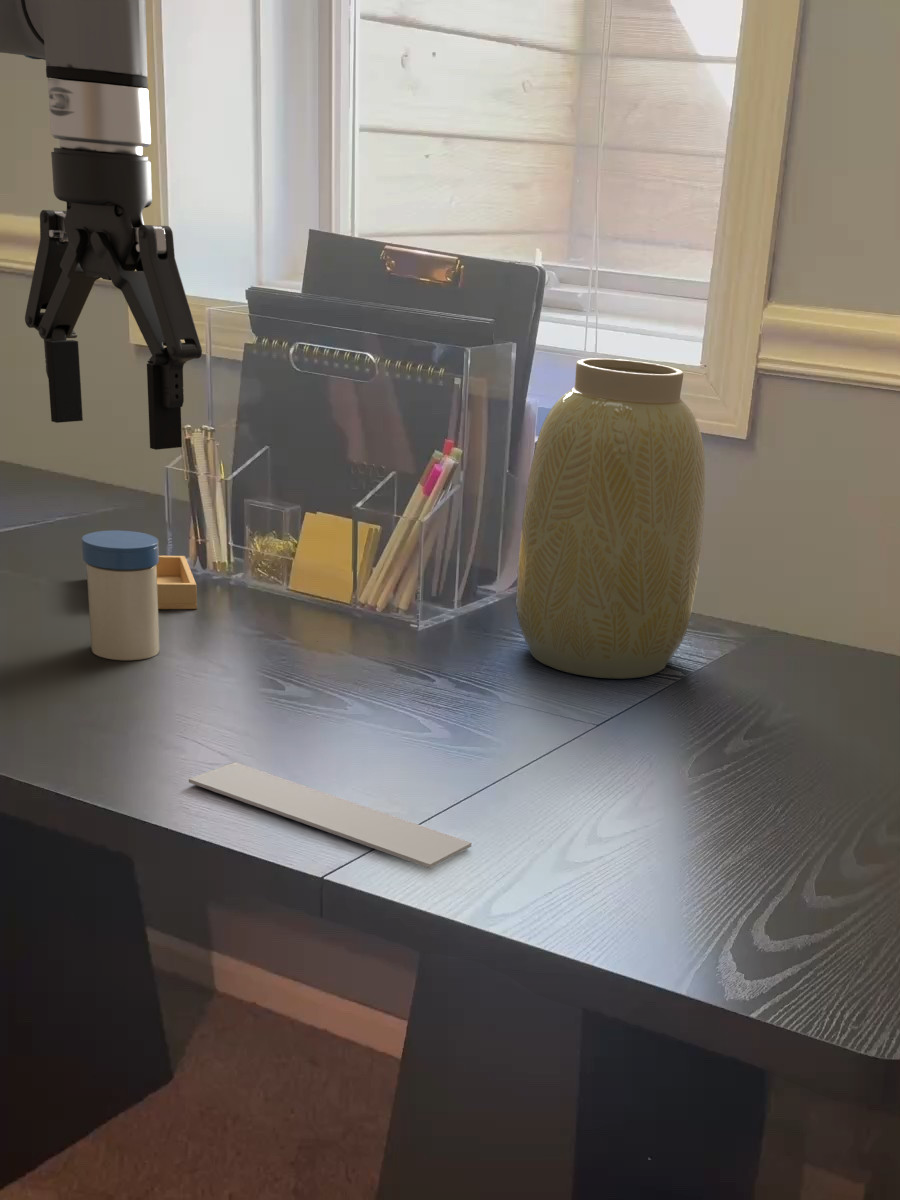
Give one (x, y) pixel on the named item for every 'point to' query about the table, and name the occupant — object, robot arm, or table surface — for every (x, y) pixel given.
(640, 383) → the vase
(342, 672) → the table surface
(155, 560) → the lid
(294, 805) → the nameplate
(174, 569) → the tray
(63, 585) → the table surface
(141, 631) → the jar
